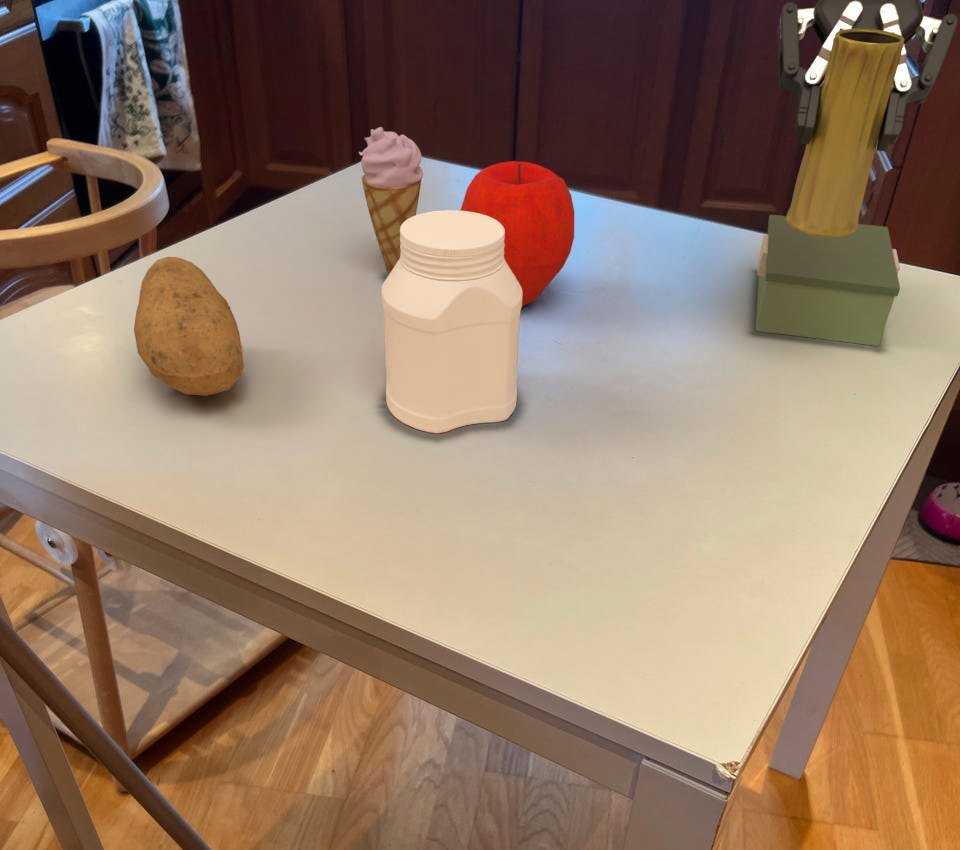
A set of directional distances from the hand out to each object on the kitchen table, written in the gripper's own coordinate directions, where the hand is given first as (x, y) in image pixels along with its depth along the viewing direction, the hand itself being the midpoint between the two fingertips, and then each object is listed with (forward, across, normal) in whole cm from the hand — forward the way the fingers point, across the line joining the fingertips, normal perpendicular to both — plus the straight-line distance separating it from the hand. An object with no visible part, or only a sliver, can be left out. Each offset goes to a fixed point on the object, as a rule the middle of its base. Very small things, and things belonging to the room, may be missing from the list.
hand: (845, 141), depth 78 cm
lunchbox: (+3, +3, +25) cm, 26 cm away
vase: (+4, 0, +6) cm, 8 cm away
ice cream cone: (+7, -42, +22) cm, 48 cm away
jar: (+24, -29, +4) cm, 38 cm away
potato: (+26, -52, +2) cm, 58 cm away
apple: (+9, -28, +20) cm, 35 cm away
